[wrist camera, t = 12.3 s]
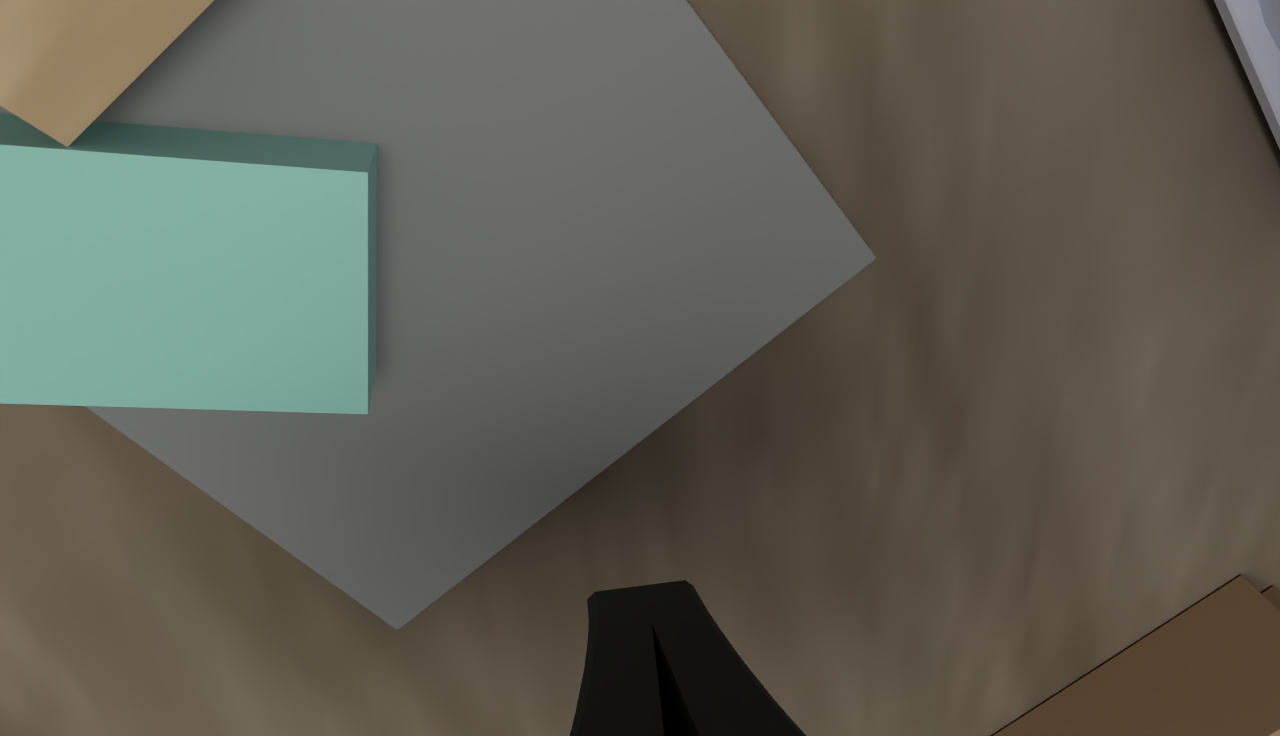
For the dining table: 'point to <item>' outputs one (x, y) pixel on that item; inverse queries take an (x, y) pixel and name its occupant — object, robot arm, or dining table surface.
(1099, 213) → the dining table surface
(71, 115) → the tile
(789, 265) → the board and tray
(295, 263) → the tile
